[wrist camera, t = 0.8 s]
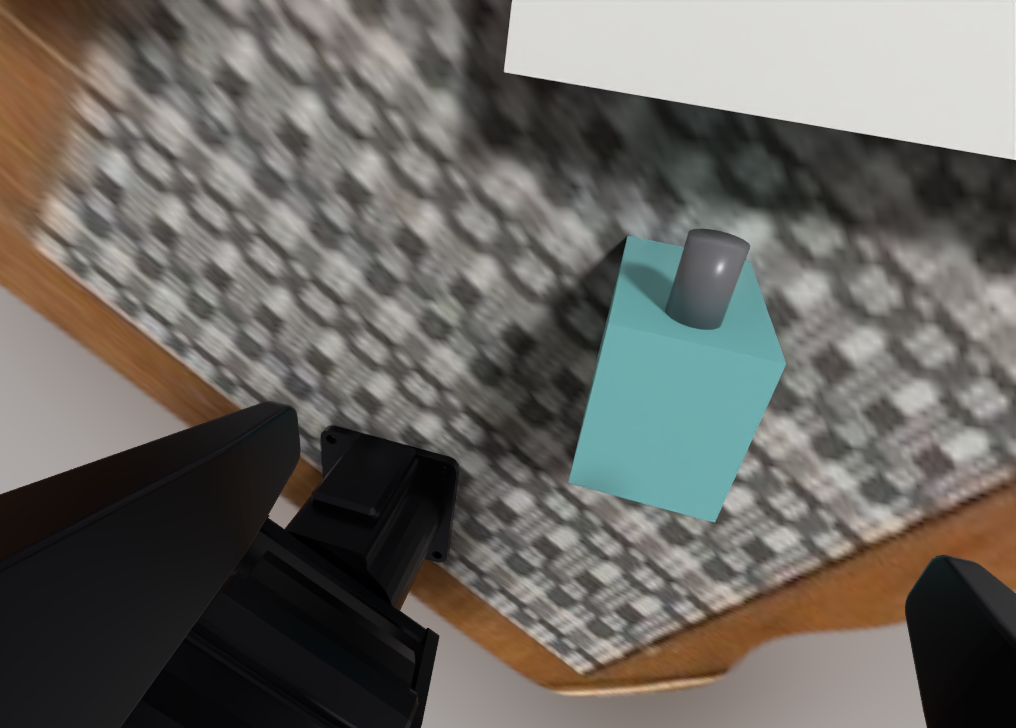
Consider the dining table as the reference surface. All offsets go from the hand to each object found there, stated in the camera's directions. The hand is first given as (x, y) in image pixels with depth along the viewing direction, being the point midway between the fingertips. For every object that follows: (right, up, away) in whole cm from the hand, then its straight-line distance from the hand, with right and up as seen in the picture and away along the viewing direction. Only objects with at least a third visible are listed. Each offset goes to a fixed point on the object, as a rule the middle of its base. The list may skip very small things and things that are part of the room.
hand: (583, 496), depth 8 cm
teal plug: (+5, +4, +12) cm, 13 cm away
